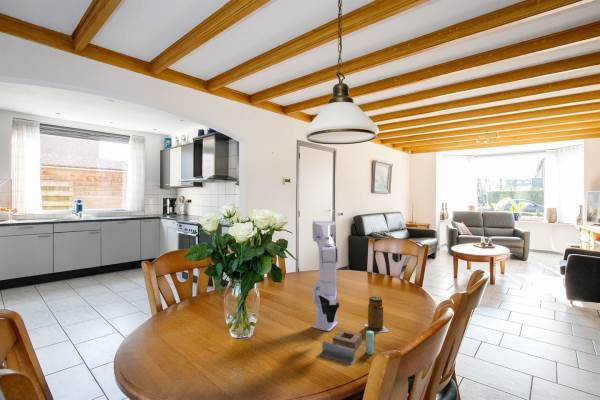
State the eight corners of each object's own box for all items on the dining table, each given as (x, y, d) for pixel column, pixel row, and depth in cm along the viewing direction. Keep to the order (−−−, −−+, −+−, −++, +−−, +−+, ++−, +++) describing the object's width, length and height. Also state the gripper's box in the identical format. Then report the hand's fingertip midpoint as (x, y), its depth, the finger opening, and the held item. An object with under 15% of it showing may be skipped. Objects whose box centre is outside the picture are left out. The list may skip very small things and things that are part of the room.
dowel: (367, 350, 106) (367, 330, 106) (374, 352, 105) (374, 331, 105) (364, 353, 104) (365, 332, 104) (372, 355, 103) (372, 334, 103)
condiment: (379, 323, 130) (379, 295, 130) (389, 331, 121) (389, 301, 121) (363, 325, 128) (363, 296, 128) (373, 333, 120) (373, 303, 120)
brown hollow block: (340, 338, 115) (341, 329, 115) (361, 343, 111) (361, 334, 111) (332, 347, 108) (332, 337, 108) (354, 353, 104) (354, 343, 104)
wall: (323, 351, 105) (324, 341, 105) (354, 359, 100) (354, 349, 100) (319, 355, 102) (320, 345, 102) (351, 364, 97) (351, 353, 97)
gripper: (313, 275, 117) (313, 310, 117) (321, 286, 102) (321, 327, 103) (331, 275, 118) (331, 310, 118) (341, 285, 103) (341, 325, 103)
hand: (328, 317), depth 110 cm, fingers open, 7 cm apart
